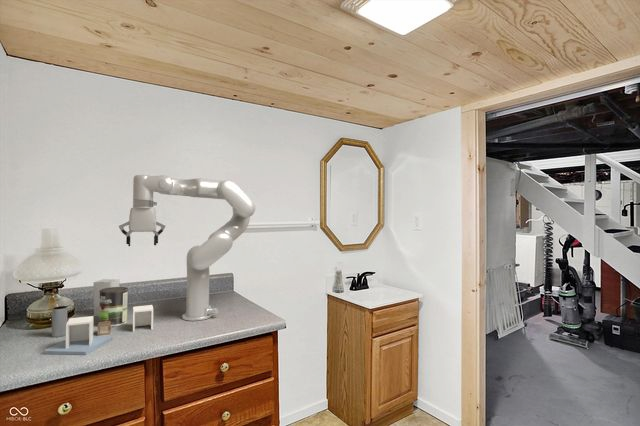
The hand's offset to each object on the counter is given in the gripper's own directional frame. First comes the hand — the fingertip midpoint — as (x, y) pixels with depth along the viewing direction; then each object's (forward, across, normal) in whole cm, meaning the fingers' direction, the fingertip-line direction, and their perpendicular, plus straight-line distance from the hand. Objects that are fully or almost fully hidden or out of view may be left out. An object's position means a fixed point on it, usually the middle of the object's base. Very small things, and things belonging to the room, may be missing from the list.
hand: (142, 245), depth 144 cm
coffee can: (+32, +10, -5) cm, 34 cm away
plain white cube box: (+32, 0, +7) cm, 33 cm away
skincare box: (+32, +13, -19) cm, 40 cm away
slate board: (+32, +19, +19) cm, 42 cm away
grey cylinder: (+32, +27, +3) cm, 42 cm away
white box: (+31, +19, +19) cm, 41 cm away
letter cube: (+32, +13, +8) cm, 36 cm away
